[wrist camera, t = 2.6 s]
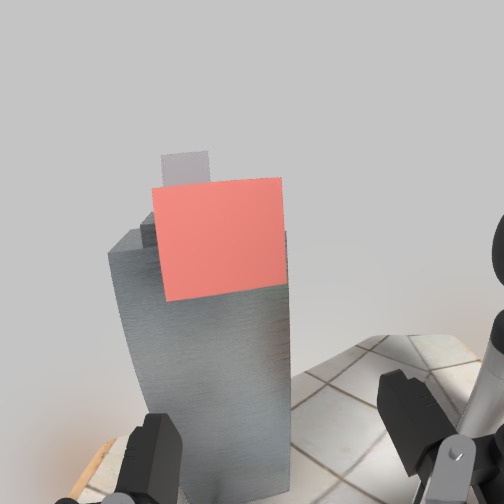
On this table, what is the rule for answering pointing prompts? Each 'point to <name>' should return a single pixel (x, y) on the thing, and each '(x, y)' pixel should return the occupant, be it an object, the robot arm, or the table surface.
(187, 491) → the box
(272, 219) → the lever
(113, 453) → the table surface
